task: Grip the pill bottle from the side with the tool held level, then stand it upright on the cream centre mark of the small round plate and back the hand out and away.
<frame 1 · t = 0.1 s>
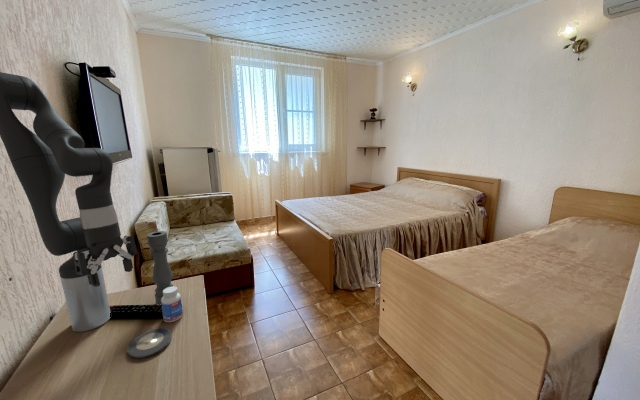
hand: (113, 278, 73), 17 cm above the table, tool pointing down, fingers open, 8 cm apart
small round plate: (150, 344, 72), on the table
pill bottle: (173, 317, 83), on the table
candle holder: (166, 301, 92), on the table
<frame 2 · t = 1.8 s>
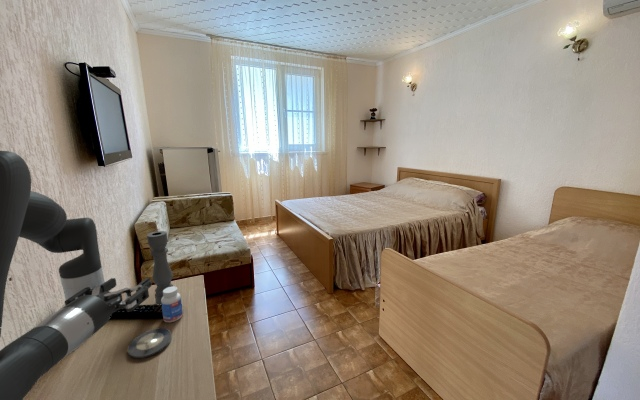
hand: (131, 281, 64), 21 cm above the table, tool horizontal, fingers open, 8 cm apart
nothing on the table moved.
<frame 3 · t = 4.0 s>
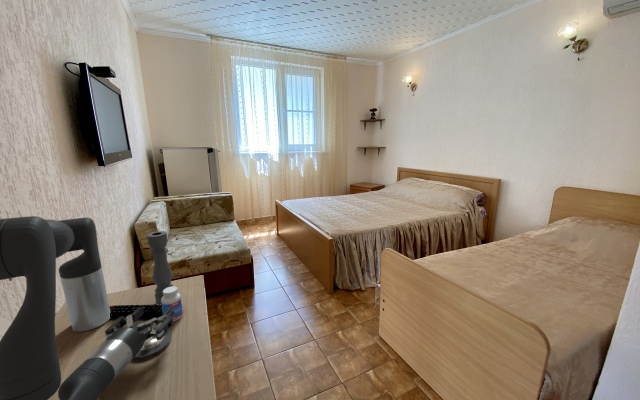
hand: (157, 309, 75), 8 cm above the table, tool horizontal, fingers open, 8 cm apart
nothing on the table moved.
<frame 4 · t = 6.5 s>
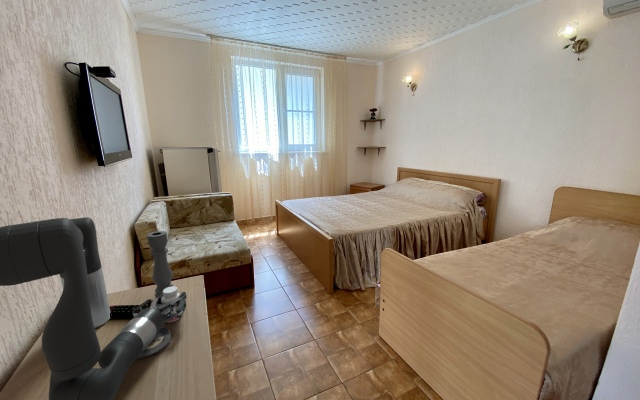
hand: (175, 294, 84), 7 cm above the table, tool horizontal, fingers closed on pill bottle, 5 cm apart
pill bottle: (173, 317, 83), on the table, touching gripper
everything else where it was.
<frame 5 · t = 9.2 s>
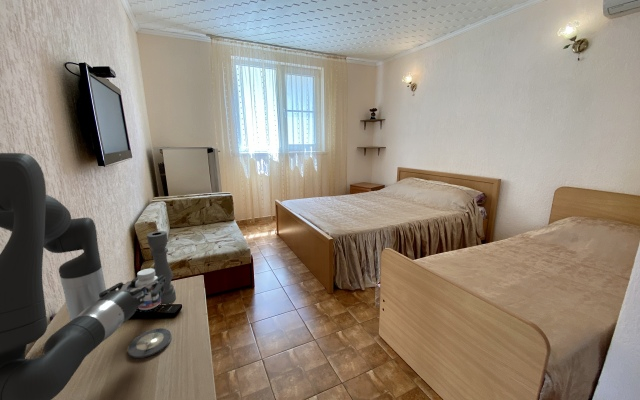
hand: (152, 278, 72), 18 cm above the table, tool horizontal, fingers closed on pill bottle, 5 cm apart
pill bottle: (150, 305, 71), point 11 cm above the table, touching gripper
everything else where it was.
when the fingers open (9 cm above the table, at t = 12.0 s): pill bottle stays where it is, resting on small round plate.
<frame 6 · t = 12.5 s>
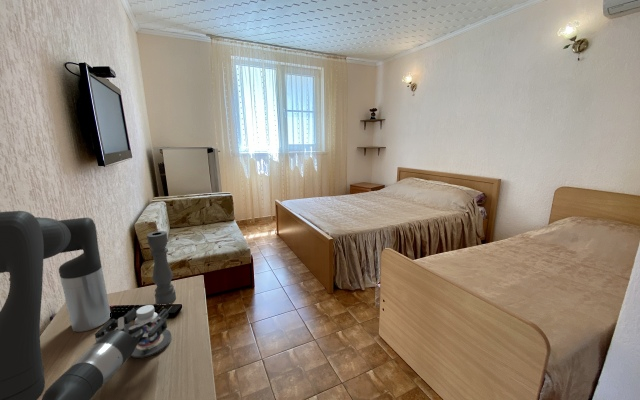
hand: (150, 311, 72), 9 cm above the table, tool horizontal, fingers open, 8 cm apart
pill bottle: (149, 341, 71), point 1 cm above the table, touching small round plate
everything else where it was.
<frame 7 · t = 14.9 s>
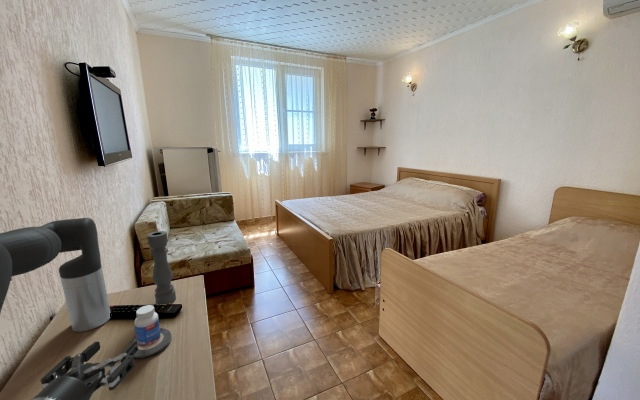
hand: (117, 344, 60), 9 cm above the table, tool horizontal, fingers open, 8 cm apart
nothing on the table moved.
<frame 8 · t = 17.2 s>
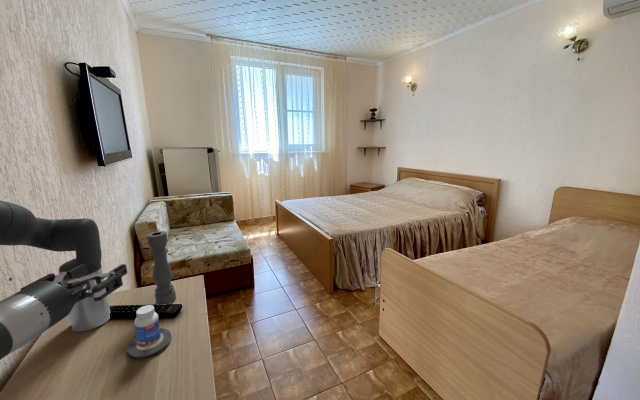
hand: (105, 268, 56), 28 cm above the table, tool horizontal, fingers open, 8 cm apart
nothing on the table moved.
at the end: pill bottle 0.1 cm off-centre on the small round plate, point 1.1 cm above the small round plate's base; pill bottle tilted 0°; the gripper is holding nothing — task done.
